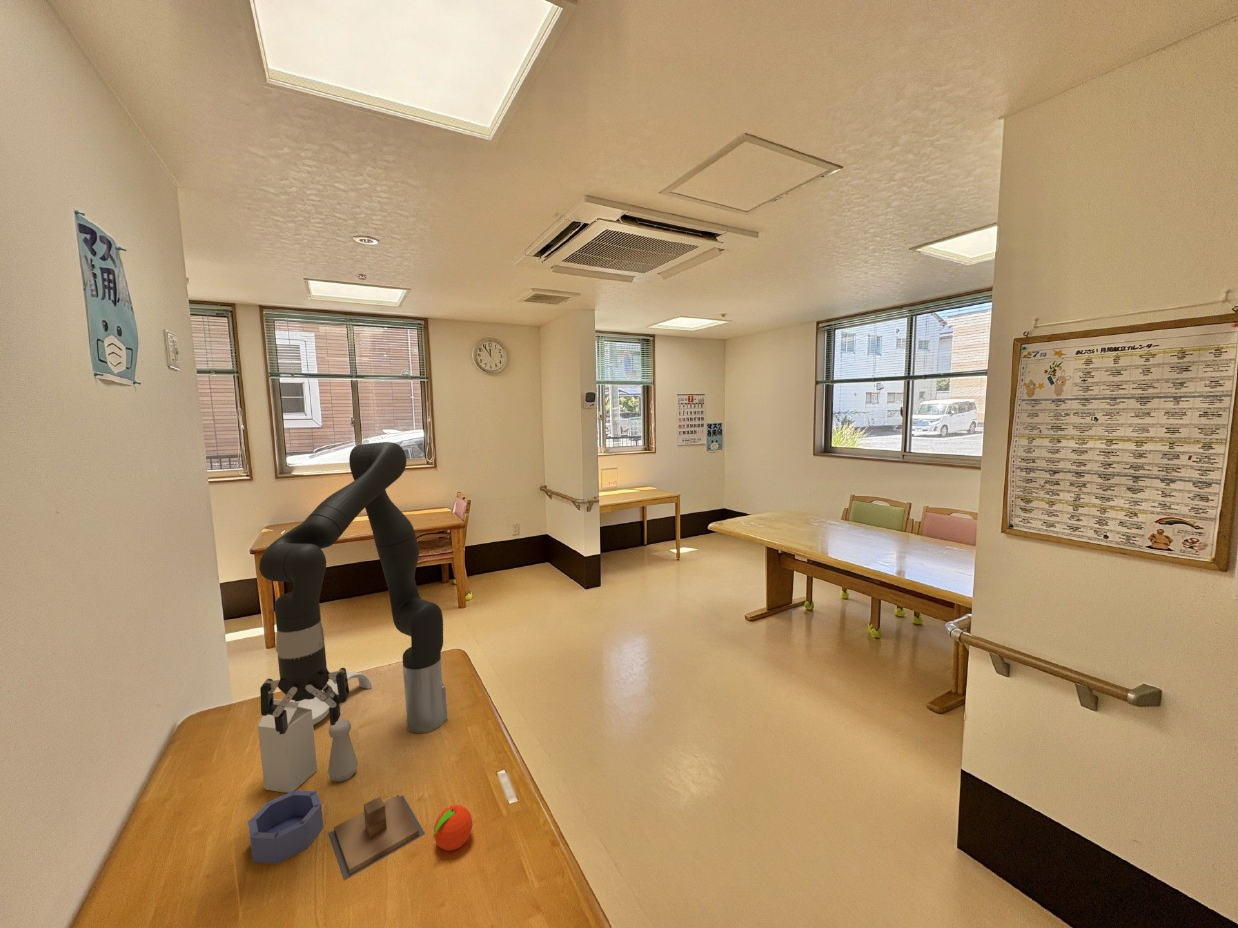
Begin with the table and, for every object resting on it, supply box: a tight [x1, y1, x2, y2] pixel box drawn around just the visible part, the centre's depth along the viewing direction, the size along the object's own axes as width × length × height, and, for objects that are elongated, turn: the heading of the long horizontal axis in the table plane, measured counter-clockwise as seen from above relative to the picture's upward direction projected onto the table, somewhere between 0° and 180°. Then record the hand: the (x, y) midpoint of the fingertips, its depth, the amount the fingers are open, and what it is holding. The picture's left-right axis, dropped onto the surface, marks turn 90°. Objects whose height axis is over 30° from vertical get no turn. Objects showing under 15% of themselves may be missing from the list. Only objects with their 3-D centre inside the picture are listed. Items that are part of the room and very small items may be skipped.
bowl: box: [247, 789, 324, 865], centre depth 95 cm, size 11×11×6 cm
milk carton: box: [257, 698, 318, 794], centre depth 109 cm, size 7×7×19 cm
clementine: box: [432, 804, 473, 852], centre depth 92 cm, size 8×7×7 cm
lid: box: [333, 794, 419, 874], centre depth 95 cm, size 12×12×6 cm
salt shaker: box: [327, 718, 358, 783], centre depth 110 cm, size 6×6×13 cm
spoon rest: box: [298, 671, 373, 726], centre depth 137 cm, size 24×12×7 cm, turn 157°
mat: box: [328, 794, 426, 881], centre depth 95 cm, size 14×13×1 cm
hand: (309, 727), depth 95 cm, fingers open, 8 cm apart
